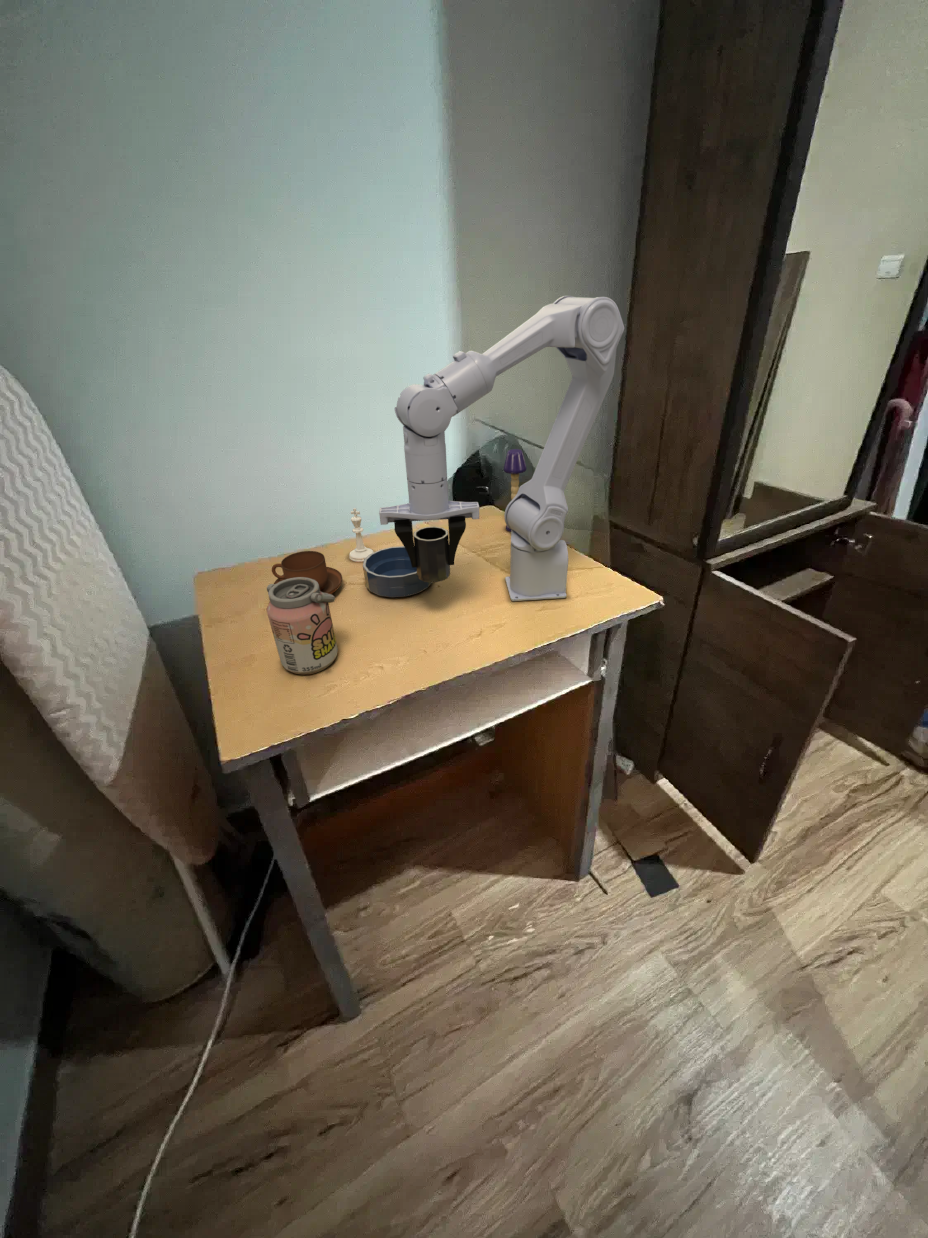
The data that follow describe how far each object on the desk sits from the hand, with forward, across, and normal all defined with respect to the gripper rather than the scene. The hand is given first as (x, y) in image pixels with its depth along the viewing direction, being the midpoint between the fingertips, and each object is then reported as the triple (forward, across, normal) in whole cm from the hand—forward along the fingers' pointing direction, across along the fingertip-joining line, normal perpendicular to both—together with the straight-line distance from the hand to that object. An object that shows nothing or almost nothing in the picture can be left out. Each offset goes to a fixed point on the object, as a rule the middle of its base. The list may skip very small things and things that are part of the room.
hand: (433, 563), depth 82 cm
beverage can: (+9, +18, +10) cm, 23 cm away
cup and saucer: (+9, +22, -10) cm, 26 cm away
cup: (+2, 0, 0) cm, 2 cm away
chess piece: (+9, +14, -23) cm, 28 cm away
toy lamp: (+9, -18, -32) cm, 38 cm away
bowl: (+9, +6, -11) cm, 15 cm away
